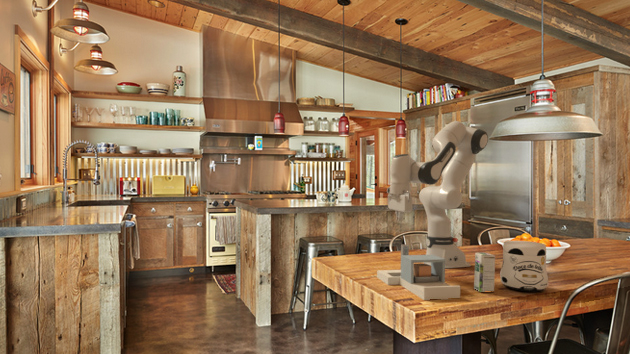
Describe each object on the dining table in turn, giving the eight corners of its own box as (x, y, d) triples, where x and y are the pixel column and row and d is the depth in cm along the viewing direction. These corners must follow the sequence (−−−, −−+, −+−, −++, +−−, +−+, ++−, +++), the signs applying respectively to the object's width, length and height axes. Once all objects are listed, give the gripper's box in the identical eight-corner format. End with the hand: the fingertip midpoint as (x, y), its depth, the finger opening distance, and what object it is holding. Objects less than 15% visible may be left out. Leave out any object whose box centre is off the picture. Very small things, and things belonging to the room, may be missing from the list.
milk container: (527, 296, 164) (527, 248, 164) (490, 285, 180) (491, 241, 180) (558, 292, 172) (559, 245, 172) (520, 281, 187) (521, 239, 187)
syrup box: (473, 289, 174) (474, 252, 174) (487, 289, 174) (488, 252, 174) (480, 293, 168) (480, 254, 168) (495, 292, 169) (495, 255, 169)
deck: (418, 276, 195) (418, 265, 195) (460, 298, 160) (460, 286, 160) (377, 277, 191) (377, 266, 191) (410, 300, 156) (411, 288, 156)
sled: (413, 268, 194) (414, 244, 194) (439, 281, 172) (439, 253, 172) (392, 269, 192) (392, 244, 192) (415, 282, 170) (415, 254, 170)
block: (425, 278, 178) (425, 263, 178) (431, 281, 173) (431, 266, 173) (413, 278, 177) (414, 263, 177) (419, 281, 172) (419, 266, 172)
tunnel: (432, 276, 181) (433, 254, 181) (444, 282, 171) (445, 259, 171) (400, 277, 178) (401, 255, 178) (410, 283, 168) (411, 260, 168)
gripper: (416, 191, 188) (415, 223, 189) (398, 189, 209) (397, 218, 209) (402, 190, 187) (401, 223, 187) (385, 189, 207) (384, 218, 207)
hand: (399, 221), depth 198 cm, fingers closed
